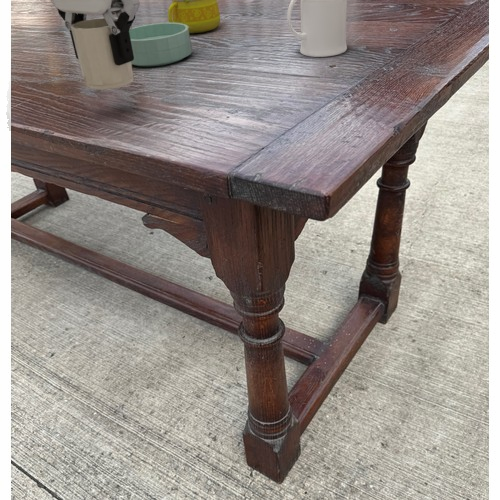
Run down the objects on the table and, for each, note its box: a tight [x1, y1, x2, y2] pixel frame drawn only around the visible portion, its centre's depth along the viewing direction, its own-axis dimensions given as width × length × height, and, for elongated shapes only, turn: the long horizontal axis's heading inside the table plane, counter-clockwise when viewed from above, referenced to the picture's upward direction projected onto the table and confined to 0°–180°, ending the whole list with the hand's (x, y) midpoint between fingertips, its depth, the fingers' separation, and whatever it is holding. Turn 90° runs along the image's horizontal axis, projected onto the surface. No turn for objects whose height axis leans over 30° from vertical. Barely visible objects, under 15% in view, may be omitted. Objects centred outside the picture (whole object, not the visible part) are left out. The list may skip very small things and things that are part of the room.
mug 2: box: [286, 0, 348, 58], centre depth 90 cm, size 12×8×12 cm
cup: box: [70, 17, 135, 91], centre depth 72 cm, size 7×7×8 cm
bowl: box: [129, 22, 193, 68], centre depth 98 cm, size 13×13×5 cm
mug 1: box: [167, 0, 221, 35], centre depth 112 cm, size 13×11×12 cm
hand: (105, 58), depth 72 cm, fingers closed on cup, 7 cm apart
